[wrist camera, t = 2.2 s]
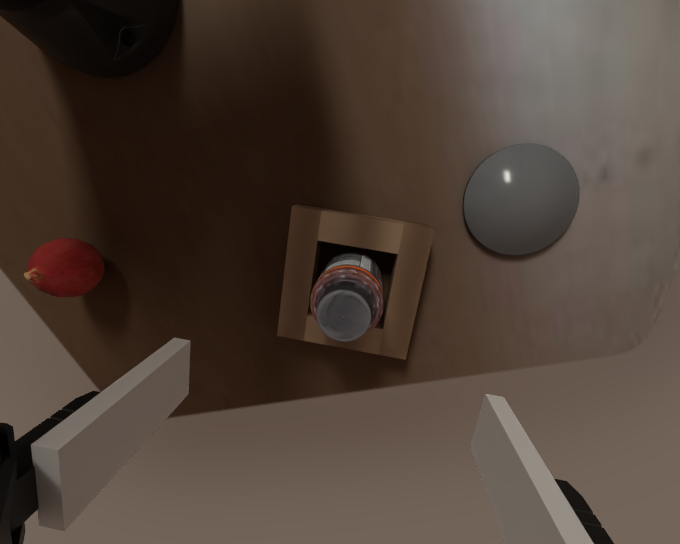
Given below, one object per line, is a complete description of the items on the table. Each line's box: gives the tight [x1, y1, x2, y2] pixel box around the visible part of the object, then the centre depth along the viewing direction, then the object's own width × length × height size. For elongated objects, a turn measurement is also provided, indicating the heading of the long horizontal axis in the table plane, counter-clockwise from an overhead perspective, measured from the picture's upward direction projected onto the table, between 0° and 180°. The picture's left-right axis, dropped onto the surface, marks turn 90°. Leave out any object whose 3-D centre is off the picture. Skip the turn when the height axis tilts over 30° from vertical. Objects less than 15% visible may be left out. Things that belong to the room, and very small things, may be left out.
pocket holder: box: [277, 204, 435, 360], centre depth 34 cm, size 13×13×3 cm
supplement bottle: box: [310, 251, 384, 342], centre depth 30 cm, size 6×6×11 cm
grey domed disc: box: [463, 144, 579, 255], centre depth 32 cm, size 10×10×1 cm
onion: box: [24, 238, 105, 297], centre depth 34 cm, size 6×6×8 cm
